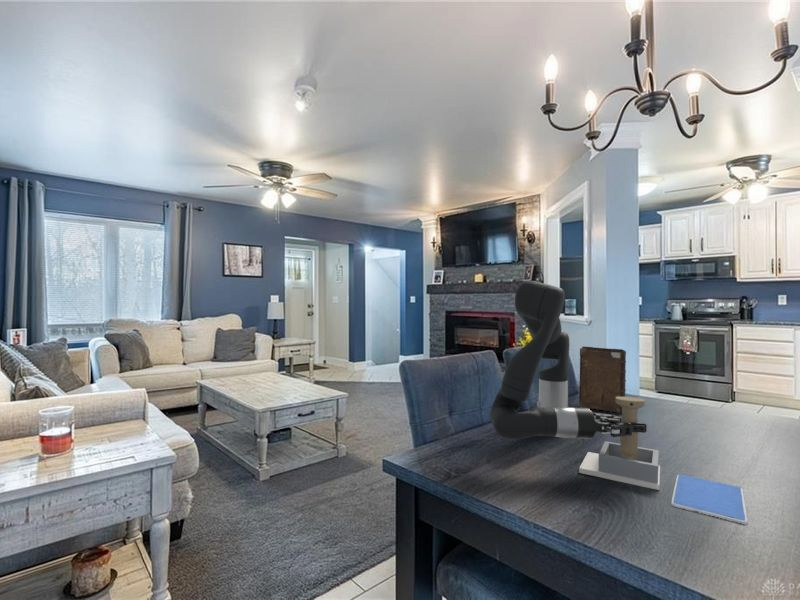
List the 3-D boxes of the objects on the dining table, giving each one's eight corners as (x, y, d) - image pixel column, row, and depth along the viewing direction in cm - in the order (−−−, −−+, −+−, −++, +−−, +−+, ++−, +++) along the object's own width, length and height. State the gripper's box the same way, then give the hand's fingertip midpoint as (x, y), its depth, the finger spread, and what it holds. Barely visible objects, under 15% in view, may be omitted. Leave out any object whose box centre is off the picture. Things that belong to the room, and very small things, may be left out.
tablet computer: (748, 528, 79) (748, 521, 79) (670, 508, 87) (670, 502, 87) (742, 492, 94) (742, 487, 94) (676, 478, 102) (676, 472, 102)
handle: (645, 464, 99) (646, 402, 100) (616, 460, 102) (617, 399, 102) (641, 457, 104) (642, 398, 104) (613, 453, 106) (614, 395, 106)
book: (626, 411, 163) (627, 349, 163) (624, 415, 157) (624, 350, 157) (581, 405, 173) (582, 346, 173) (577, 408, 167) (578, 347, 167)
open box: (579, 472, 103) (579, 451, 103) (588, 456, 114) (588, 437, 114) (659, 490, 94) (659, 467, 94) (660, 470, 105) (660, 450, 105)
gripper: (582, 415, 97) (657, 417, 96) (562, 401, 111) (627, 403, 110) (581, 447, 97) (657, 450, 96) (561, 429, 111) (627, 431, 110)
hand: (640, 425), depth 103 cm, fingers closed on handle, 3 cm apart
